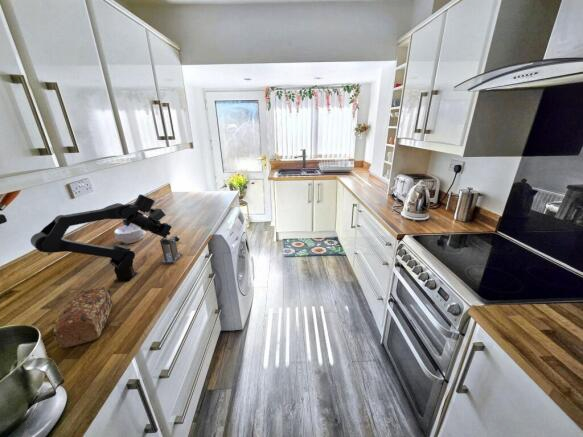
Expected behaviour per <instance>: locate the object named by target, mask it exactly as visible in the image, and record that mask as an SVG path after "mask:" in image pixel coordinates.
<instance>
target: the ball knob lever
mask: <svg viewBox="0 0 583 437" xmlns="http://www.w3.org/2000/svg"><path fill="white" fill-rule="evenodd" d="M174 237H175V241H176V243H177V242H179V241H180V237H179V236H177V235H175V236H174ZM169 239H170V238H167V239H165V240H164V245H169V242H168V240H169Z"/></svg>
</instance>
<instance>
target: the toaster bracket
mask: <svg viewBox="0 0 583 437" xmlns="http://www.w3.org/2000/svg"><path fill="white" fill-rule="evenodd" d="M165 239H169V240H168V242H169V245H164V240H165ZM159 244H160V246H161V250H162V255H163V260H162V261H161V265H174V264H176V263H177V261H178V260H179V259H180V258H181V257H182V256H183V252H179V250H178V246H177V242H176V241H175V236H171V237H170V238H168V236H166V237H165V238H164V237H162V238H161V239H160V240H159Z"/></svg>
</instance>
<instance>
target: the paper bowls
mask: <svg viewBox="0 0 583 437" xmlns="http://www.w3.org/2000/svg"><path fill="white" fill-rule="evenodd" d="M113 233H114V237H115V240H116V241H117V242H121V243H123V244H134V243H137V242H139V241H141V240H142V239H143V237H144V236H145V235H146V234H147V231H144V230H142V229H141V228H140V227H138V226H137V225H134V224H132V223H130V225H129V226H126V225H124V224H123V225H122V226H120V227H117V228H116V229H114V231H113Z"/></svg>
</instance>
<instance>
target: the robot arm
mask: <svg viewBox="0 0 583 437" xmlns="http://www.w3.org/2000/svg"><path fill="white" fill-rule="evenodd" d="M155 202H156V200H154V199H153V198H151V197H148V196H145V195H144V194H138V196H137V198H136V200H135V202H134V203H133V204H132V203H128V204H123V203H119V202H117V203H116V202H115V203H113V204H110V205H107V206H105V207H103V208H99V209H93V210H87V211H82V212H81V211H80V212H75V213H70V214H69V213H68V214H60V215H56V216H55V217H54V219H53V220H52V221H50V222H49V223H48V224H47V225H46V226H44V227H43V228H42V229H41V230H40V231H39V232H37V233H35V234H34V235H32V236H31V238H30V244H31V245H32V246H33V247H34V248H35V249H36V250H37V251H39V252H42V253H63V252H64V253H65V252H68V253H75V254H83V255H90V256H95V257H102V258H109V259H110V260H109V264H110V265H112V266H113V267H114V269H113V271H114V273H115V275H116V278H115V279H114V282H116V283H117V282H119V283H120V282H130V281H131V280H132V279H133V278H135V277H136V275H138V271H135V270H134V267H133V266H134V265H133V264H134V259H135V257H136V253H135V251H133V250H132V248H130V247H128V246H126V245H124V244H123V245H120V244H117V243H114V244H113V246H103V245H100V244H99V245H98V244H94V243H93V244H92V243H87V242H81V241H76V240H71V239H68V238H67V239H66V238H64V236H65V234H66V233H67V231H68V229H69V228H70V227H74V226H78V225H83V224H87V223H92V222H93V223H94V222H98V221H103V220H104V221H105V220H122V224H123V226H124V225H126V226H129V225H130V224H134V225H137V226H138V227H140V228H141V229H142V230H144V231H146V232H150V233H151V234H153V235H156V236H159V237H162V238H165V237H168V236H170V235H171V232H170V231H171V229H172V225H171V224H169V223H167V222H161V220H162V219H163V218H164V217H166V213H165V211H164V210H163V209H162V208H155V209H154V208H152V207H153V205H154V204H155ZM146 213H148V215H146Z"/></svg>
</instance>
